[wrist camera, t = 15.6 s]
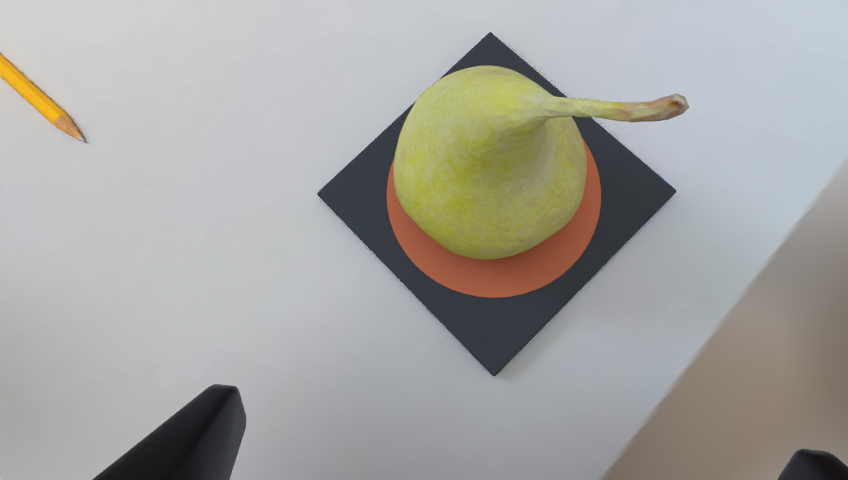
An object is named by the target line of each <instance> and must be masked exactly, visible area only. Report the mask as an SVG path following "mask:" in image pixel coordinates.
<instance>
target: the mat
mask: <svg viewBox="0 0 848 480" xmlns="http://www.w3.org/2000/svg"><path fill="white" fill-rule="evenodd" d="M476 66H499V67H504V68H507V69H510V70H514V71H516V72H518V73H520V74H522V75H523V76H525V77H527V78H528V79H530V80H532V81H533V82H535V83H536V84H538V85H539V86H541V87H542V88H543V89H545V90H546V91H547V92H549V93H550V94H551V95H553V96H555V97H564V98H567V97H566V96H565V95H564V94H563V93H561V92H560V91H559V90H558V89H557V88H555V87H554V86H553V85H552V84H551V83H550V82H548V81H547V80H546V79H545V78H544V77H543V76H541V75H540V74H539V73H538V72H537V71H536V70H534V69H533V68H532V67H531V66H530V65H528V64H527V63H526V62H525V61H524V60H523V59H521V58H520V57H519V56H518V55H517V54H516V53H514V52H513V51H512V50H511V49H510V48H509V47H507V46H506V45H505V44H504V43H503V42H501V41H500V40H499V39H498V38H497V37H496V36H494V35H493V34H492V33H491V32H490V33H489V34H487V35H486V36H485V37H484V38H483V39H482V40H481V41H480V42H479V43H478V44H477V45H476V46H475V47H473V48H472V49H471V50H470V51H469V52H468V53H467V54H466V55H465V56H464V57H463V58H462V59H461V60H460V61H458V62H457V63H456V64H455V65H454V66H453V67H452V68H451V69H450V70H449V71H448V72H447V73H446V74H445V75H443V76H442V77H441V78H443V77H445V76H447V75H449V74H451V73H454V72H456V71H459V70H463V69H466V68H471V67H476ZM441 78H440V79H441ZM440 79H439V80H440ZM415 103H416V102H414V103H413V104H412V105H411V106H410V107H409V108H408V109H407V110H406V111H405V112H404V113H403V114H402V115H401V116H399V117H398V118H397V119H396V120H395V121H394V122H393V123H392V124H391V125H390V126H389V127H388V128H387V129H386V130H384V131H383V132H382V133H381V134H380V135H379V136H378V137H377V138H376V139H375V140H374V141H373V142H372V143H370V144H369V145H368V146H367V147H366V148H365V149H364V150H363V151H362V152H361V153H360V154H359V155H358V156H357V157H355V158H354V159H353V160H352V161H351V162H350V163H349V164H348V165H347V166H346V167H345V168H344V169H343V170H342V171H340V172H339V173H338V174H337V175H336V176H335V177H334V178H333V179H332V180H331V181H330V182H329V183H328V184H327V185H325V186H324V187H323V188H322V189H321V190H320V191H319V192H318V193H317V194H318V196H319V197H320V198H321V199H322V200H323V201H324V202H325V203H326V204H327V205H328V206H329V207H330V208H331V209H332V210H333V211H334V212H335V213H336V214H337V215H338V216H339V217H340V218H341V219H342V220H343V221H344V222H345V223H346V225H347V226H348V227H349V228H350V229H351V230H352V231H353V232H354V233H355V234H356V235H357V236H358V237H359V238H360V239H361V240H362V241H363V242H364V243H365V244H366V245H367V246H368V247H369V248H370V249H371V250H372V251H373V252H374V253H375V254H376V256H377V257H378V258H379V259H380V260H381V261H382V262H383V263H384V264H385V265H386V266H387V267H388V268H389V269H390V270H391V271H392V272H393V273H394V274H395V275H396V276H397V277H398V278H399V279H400V280H401V281H402V282H403V283H404V284H405V285H406V286H407V288H408V289H409V290H410V291H411V292H412V293H413V294H414V295H415V296H416V297H417V298H418V299H419V300H420V301H421V302H422V303H423V304H424V305H425V306H426V307H427V308H428V309H429V310H430V311H431V312H432V313H433V314H434V315H435V316H436V317H437V318H438V320H439V321H440V322H441V323H442V324H443V325H444V326H445V327H446V328H447V329H448V330H449V331H450V332H451V333H452V334H453V335H454V336H455V337H456V338H457V339H458V340H459V341H460V342H461V343H462V344H463V345H464V346H465V347H466V348H467V349H468V351H469V352H470V353H471V354H472V355H473V356H474V357H475V358H476V359H477V360H478V361H479V362H480V363H481V364H482V365H483V366H484V367H485V368H486V369H487V370H488V371H489V372H490V373H491V374H492V375H493V376H495V375H496V374H497V373H498V372H499V371H500V370H501V369H502V368H503V367H504V366H505V365H506V364H507V363H508V362H509V361H510V360H511V359H512V358H513V357H514V356H515V355H516V354H517V353H518V352H519V351H520V350H521V349H522V348H523V347H524V346H525V345H526V344H527V343H528V342H529V341H530V340H531V339H532V338H533V337H534V336H535V335H536V334H537V333H538V332H539V331H540V330H541V329H542V328H543V327H544V326H545V325H546V324H547V323H548V321H549V320H550V319H551V318H552V317H553V316H554V315H555V314H556V313H557V312H558V311H559V310H560V309H561V308H562V307H563V306H564V305H565V304H566V303H567V302H568V301H569V300H570V299H571V298H572V297H573V296H574V295H575V294H576V293H577V292H578V291H579V290H580V289H581V288H582V287H583V286H584V285H585V284H586V283H587V282H588V281H589V280H590V279H591V278H592V277H593V276H594V275H595V274H596V273H597V272H598V271H599V270H600V269H601V268H602V267H603V266H604V265H605V264H606V263H607V262H608V260H609V259H610V258H611V257H612V256H613V255H614V254H615V253H616V252H617V251H618V250H619V249H620V248H621V247H622V246H623V245H624V244H625V243H626V242H627V241H628V240H629V239H630V238H631V237H632V236H633V235H634V234H635V233H636V232H637V231H638V230H639V229H640V228H641V227H642V226H643V225H644V224H645V223H646V222H647V221H648V220H649V219H650V218H651V217H652V216H653V215H654V214H655V213H656V212H657V211H658V210H659V209H660V208H661V207H662V206H663V205H664V204H665V203H666V202H667V201H668V200H669V198H670V197H671V196H672V195H673V194H674V193H675V192H676V190H675V189H674V188H673V187H672V186H671V185H669V184H668V183H667V182H666V181H665V180H663V179H662V178H661V177H660V176H659V175H658V174H656V173H655V172H654V171H653V170H652V169H651V168H649V167H648V166H647V165H646V164H645V163H644V162H642V161H641V160H640V159H639V158H638V157H636V156H635V155H634V154H633V153H632V152H631V151H629V150H628V149H627V148H626V147H625V146H624V145H622V144H621V143H620V142H619V141H618V140H617V139H615V138H614V137H613V136H612V135H611V134H609V133H608V132H607V131H606V130H605V129H604V128H602V127H601V126H600V125H599V124H598V123H597V122H595V121H594V120H593V119H592V118H591V117H577V116H571V117H572V118H573V120H574V121H575V123H576V125H577V128H578V130H579V132H580V134H581V137H582V140H583V143H584V147H585V152H586V158H587V174H586V181H585V187H584V192H583V197H582V200H581V202H580V204H579V207H578V209H577V211H576V212H575V214H574V215H573V217H572V218H571V220H570V221H569V222H568V223H567V224H566V225H565V226H564V227H563V228H561V229H560V230H559V231H557V232H556V233H554V234H553V235H552V236H550V237H549V238H547V239H546V240H544V241H543V242H541V243H540V244H538V245H536V246H534V247H533V248H530V249H528V250H526V251H523V252H521V253H518V254H515V255H512V256H508V257H504V258H499V259H485V260H483V259H473V258H469V257H465V256H461V255H459V254H456V253H453V252H451V251H449V250H447V249H446V248H445V247H443V246H442V245H441V244H439V243H438V242H436V241H435V240H434V239H433V238H431V237H430V236H429V235H428V234H427V233H425V232H424V231H423V230H422V229H421V228H420V227H419V226H418V225H417V224H416V223H415V222H414V220H413V219H412V218H411V217H410V216H409V215H408V214H407V213H406V212H405V210H404V209H403V207H402V206H401V204H400V202H399V199H398V197H397V194H396V190H395V186H394V172H393V168H394V158H395V152H396V148H397V144H398V139H399V135H400V133H401V130H402V127H403V125H404V122H405V120H406V118H407V116H408V114H409V113H410V111H411V109H412V107H413V106H414V104H415Z"/></svg>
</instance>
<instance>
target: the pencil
mask: <svg viewBox="0 0 848 480" xmlns="http://www.w3.org/2000/svg"><path fill="white" fill-rule="evenodd" d="M0 77H1V78H3V79H4V80H5V81H6V82H7V83H8V84H9V85H10V86H11V87H12V88H14V89H15V90H16V91H17V92H18V93H19V94H20V95H21V96H22V97H23V98H24V99H26V100H27V101H28V102H29V103H30V104H31V105H32V106H33V107H34V108H35V109H37V110H38V111H39V112H40V113H41V114H42V115H43V116H44V117H45V118H46V119H48V120H49V121H50V122H51V123H52V124H53V125H54V126H55V127H56V128H58V129H60V130H62V131H64V132H66V133H67V134H69V135H71V136H73V137H75V138H77V139H79V140H81V141H84V139H83V137H82V136H81V134H80V133H79V131H78V130H77V128H76V127H75V125H74V124H73V122H72V121H71V119H70V118H69V116H68V115H67V114H66V113H65V112H64V111H62V110H61V109H60V108H59V107H58V106H57V105H56V104H55V103H54V102H52V101H51V100H50V99H49V98H48V97H47V96H46V95H45V94H44V93H42V92H41V91H40V90H39V89H38V88H37V87H36V86H35V85H34V84H32V83H31V82H30V81H29V80H28V79H27V78H26V77H25V76H24V75H22V74H21V73H20V72H19V71H18V70H17V69H16V68H15V67H14V66H12V65H11V64H10V63H9V62H8V61H7V60H6V59H5V58H3V57H2V56H1V55H0ZM84 142H85V141H84Z"/></svg>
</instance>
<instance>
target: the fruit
mask: <svg viewBox="0 0 848 480" xmlns="http://www.w3.org/2000/svg"><path fill="white" fill-rule="evenodd" d="M688 108H689V106H688V103H687V101H686V98H685V97H684V96H681V95H679V94H674V95H671V96H667V97H663V98H660V99H658V100H655V101H653V102H641V103H620V102H604V101H599V100H588V99H574V98H564V97H555V96H553V95H551V94H550V93H549V92H547V91H546V90H545V89H543V88H542V87H541V86H539V85H538V84H536V83H535V82H533V81H532V80H530V79H528V78H527V77H525V76H523V75H522V74H520V73H518V72H516V71H514V70H510V69H507V68H504V67H499V66H476V67H471V68H466V69H463V70H459V71H456V72H454V73H451V74H449V75H447V76H445V77H443V78H441V79H440V80H438V81H437V82H435V83H434V84H433V85H432V86H430V87H429V88H428V89H427V90H426V91H425V92H424V93H423V94H422V95H421V96H420V97H419V98H418V100H417V101H416V103H415V104H414V106H413V107H412V109H411V111H410V113H409V114H408V116H407V118H406V120H405V122H404V125H403V127H402V130H401V133H400V135H399V139H398V144H397V148H396V152H395V158H394V168H393V172H394V186H395V190H396V194H397V197H398V199H399V202H400V204H401V206H402V207H403V209H404V210H405V212H406V213H407V214H408V215H409V216H410V217H411V218H412V219H413V220H414V222H415V223H416V224H417V225H418V226H419V227H420V228H421V229H422V230H423V231H424V232H425V233H427V234H428V235H429V236H430V237H431V238H433V239H434V240H435V241H436V242H438V243H439V244H441V245H442V246H443V247H445V248H446V249H447V250H449V251H451V252H453V253H456V254H459V255H461V256H465V257H469V258H473V259H483V260H485V259H499V258H504V257H508V256H512V255H515V254H518V253H521V252H523V251H526V250H528V249H530V248H533V247H534V246H536V245H538V244H540V243H541V242H543V241H544V240H546V239H547V238H549V237H550V236H552V235H553V234H554V233H556V232H557V231H559V230H560V229H561V228H563V227H564V226H565V225H566V224H567V223H568V222H569V221H570V220H571V218H572V217H573V215H574V214H575V212H576V211H577V209H578V207H579V204H580V202H581V200H582V197H583V192H584V187H585V181H586V174H587V158H586V152H585V147H584V143H583V140H582V137H581V134H580V132H579V130H578V128H577V125H576V123H575V121H574V120H573V118H572V117H571V116H577V117H598V118H604V119H610V120H616V121H629V122H642V121H661V120H668V119H670V118H673V117H675V116H678V115H681V114H683V113H684V112H685V111H686V110H687V109H688Z"/></svg>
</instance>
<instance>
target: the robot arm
mask: <svg viewBox="0 0 848 480" xmlns="http://www.w3.org/2000/svg"><path fill="white" fill-rule="evenodd" d="M245 427H246V414H245V411H244V407H243V403H242V400H241V396H240V392H239V390H238V389H237V388H236V387H235V386H230V385H220V384H215V385H212V386H210V387H208V388H207V389H206V390H204V391H203V392H202V393H201V394H199V395H198V396H197V397H196V398H194V399H193V400H192V401H191V402H189V403H188V404H187V405H186V406H184V407H183V408H182V409H181V410H179V411H178V412H177V413H175V414H174V415H173V416H172V417H170V418H169V419H168V420H167V421H165V422H164V423H163V424H162V425H160V426H159V427H158V428H157V429H155V430H154V431H153V432H152V433H150V434H149V435H148V436H147V437H145V438H144V439H143V440H142V441H140V442H139V443H138V444H137V445H135V446H134V447H133V448H132V449H130V450H129V451H128V452H126V453H125V454H124V455H123V456H121V457H120V458H119V459H118V460H116V461H115V462H114V463H113V464H111V465H110V466H109V467H108V468H106V469H105V470H104V471H103V472H101V473H100V474H99V475H98V476H96V477H95V478H94V479H93V480H229V479H230V476H231V473H232V469H233V466H234V463H235V460H236V457H237V454H238V450H239V447H240V444H241V441H242V438H243V435H244V431H245ZM778 480H848V467H847V466H846V465H845V464H844V463H842V461H840V460H839V459H838V458H837V457H836V456H834V455H833V454H831V453H829V452H825V451H818V450H810V449H800V450H798V451H796V452H795V453H794V455H793V456H792V458H791V459H790V461H789V463H788V464H787V466H786V467H785V468H784V470H783V471H782V473H781V474H780V476H779V478H778Z"/></svg>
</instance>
